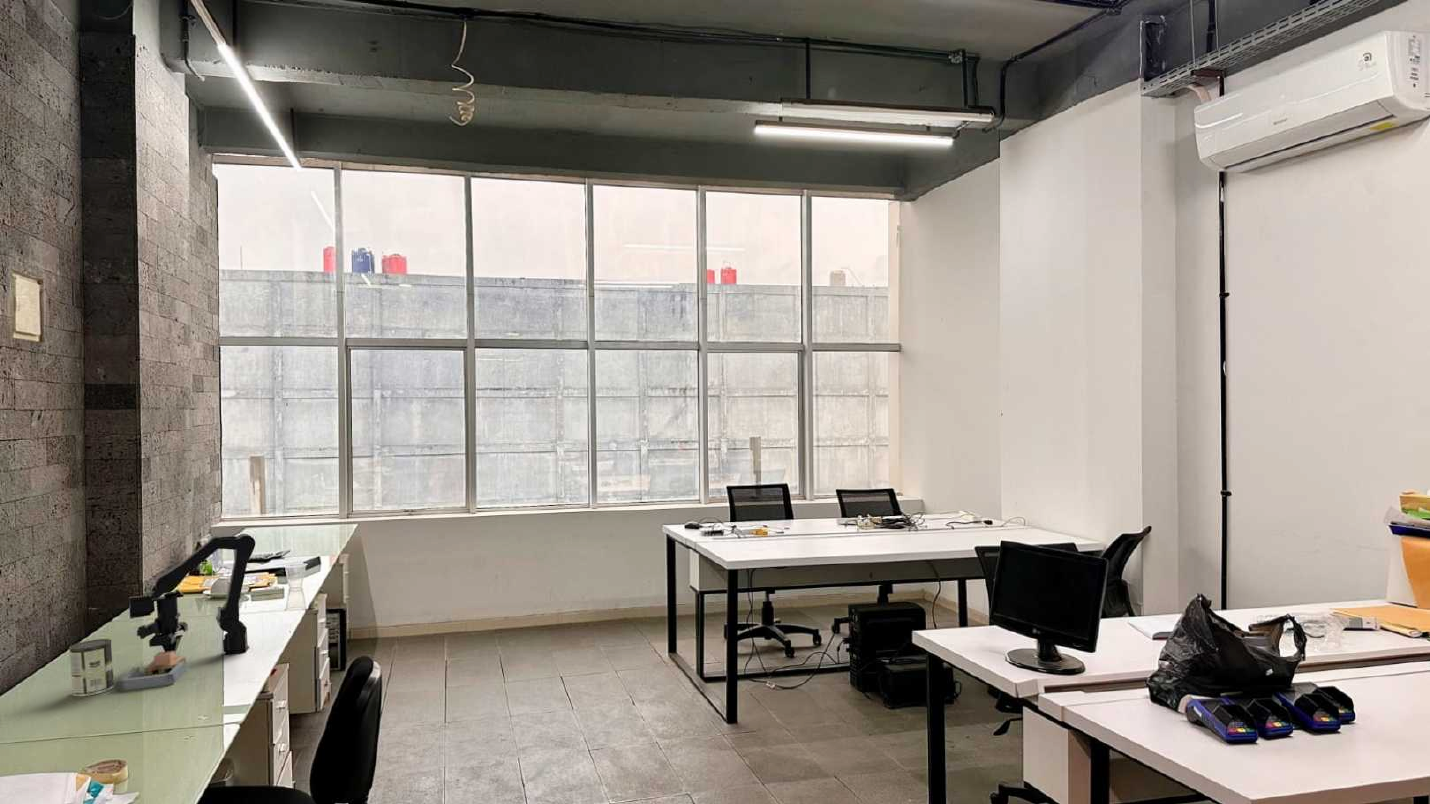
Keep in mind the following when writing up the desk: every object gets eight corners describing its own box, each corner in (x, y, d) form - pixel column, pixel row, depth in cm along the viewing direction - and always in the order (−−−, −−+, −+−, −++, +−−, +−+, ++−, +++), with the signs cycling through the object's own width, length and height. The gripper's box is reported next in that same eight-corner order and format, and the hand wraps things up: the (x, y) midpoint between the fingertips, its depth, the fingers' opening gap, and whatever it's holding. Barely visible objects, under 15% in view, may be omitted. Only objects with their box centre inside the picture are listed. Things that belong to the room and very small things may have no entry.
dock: (185, 670, 275) (185, 661, 275) (173, 684, 262) (172, 674, 262) (134, 677, 271) (133, 667, 271) (118, 691, 258) (117, 681, 258)
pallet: (186, 662, 284) (185, 656, 284) (177, 671, 276) (177, 664, 276) (154, 666, 282) (154, 659, 282) (145, 675, 273) (144, 668, 273)
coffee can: (98, 683, 266) (95, 637, 266) (122, 685, 263) (119, 639, 263) (63, 695, 257) (60, 647, 257) (88, 697, 253) (85, 649, 253)
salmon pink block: (174, 659, 280) (174, 650, 280) (170, 663, 276) (169, 654, 276) (159, 661, 279) (158, 652, 279) (154, 665, 275) (154, 656, 275)
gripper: (149, 608, 290) (152, 655, 290) (128, 622, 272) (132, 672, 272) (186, 604, 293) (189, 650, 293) (169, 618, 275) (172, 667, 276)
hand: (170, 660), depth 284 cm, fingers closed
